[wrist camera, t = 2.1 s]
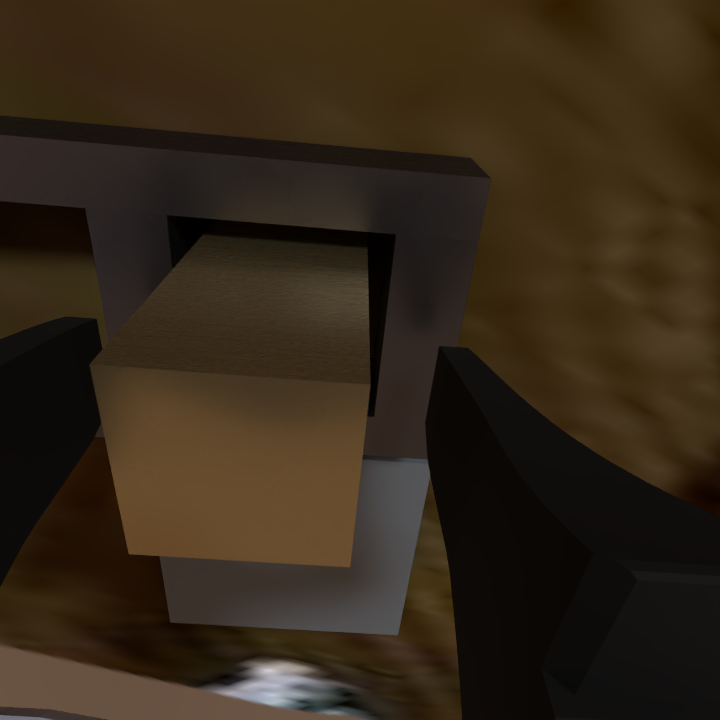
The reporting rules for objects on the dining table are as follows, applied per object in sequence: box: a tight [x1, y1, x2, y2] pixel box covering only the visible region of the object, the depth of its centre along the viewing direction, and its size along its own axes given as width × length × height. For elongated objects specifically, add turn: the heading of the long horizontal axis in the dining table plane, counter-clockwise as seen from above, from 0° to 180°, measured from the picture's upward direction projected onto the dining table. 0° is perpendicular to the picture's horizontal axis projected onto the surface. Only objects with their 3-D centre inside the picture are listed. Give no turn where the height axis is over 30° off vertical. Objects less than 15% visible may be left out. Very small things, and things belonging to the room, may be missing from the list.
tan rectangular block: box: [89, 219, 371, 567], centre depth 12 cm, size 4×4×8 cm
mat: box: [160, 455, 430, 635], centre depth 21 cm, size 10×10×1 cm
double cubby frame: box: [0, 116, 491, 460], centre depth 14 cm, size 16×8×2 cm, turn 85°
